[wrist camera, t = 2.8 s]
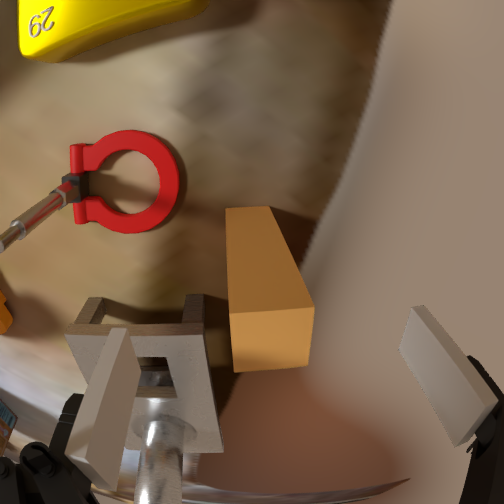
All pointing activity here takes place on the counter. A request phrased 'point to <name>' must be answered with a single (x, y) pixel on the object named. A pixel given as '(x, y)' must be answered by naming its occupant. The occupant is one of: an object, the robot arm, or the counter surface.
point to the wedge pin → (265, 294)
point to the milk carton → (6, 425)
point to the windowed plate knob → (160, 394)
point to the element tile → (90, 23)
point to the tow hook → (94, 206)
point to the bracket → (4, 315)
